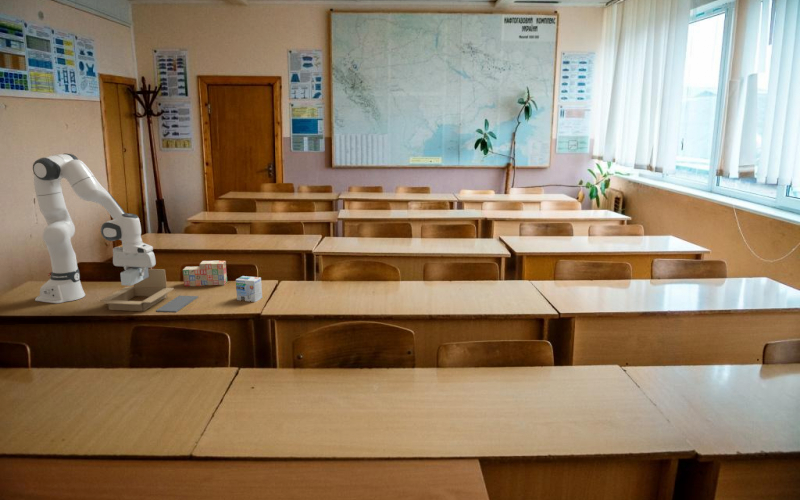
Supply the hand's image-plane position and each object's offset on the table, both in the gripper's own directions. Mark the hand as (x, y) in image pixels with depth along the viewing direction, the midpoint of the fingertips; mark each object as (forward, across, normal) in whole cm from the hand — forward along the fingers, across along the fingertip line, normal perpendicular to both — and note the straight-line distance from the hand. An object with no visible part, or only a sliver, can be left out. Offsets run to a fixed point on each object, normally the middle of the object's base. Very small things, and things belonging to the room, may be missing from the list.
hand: (135, 275), depth 286 cm
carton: (+14, +1, -2) cm, 14 cm away
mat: (+13, +21, 0) cm, 25 cm away
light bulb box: (+13, +53, +11) cm, 55 cm away
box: (+3, 0, 0) cm, 3 cm away
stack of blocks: (+14, +20, +32) cm, 40 cm away
